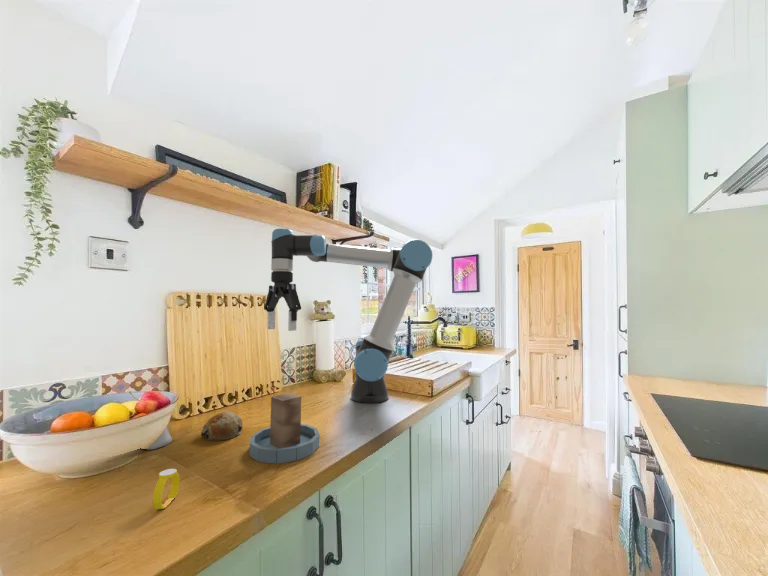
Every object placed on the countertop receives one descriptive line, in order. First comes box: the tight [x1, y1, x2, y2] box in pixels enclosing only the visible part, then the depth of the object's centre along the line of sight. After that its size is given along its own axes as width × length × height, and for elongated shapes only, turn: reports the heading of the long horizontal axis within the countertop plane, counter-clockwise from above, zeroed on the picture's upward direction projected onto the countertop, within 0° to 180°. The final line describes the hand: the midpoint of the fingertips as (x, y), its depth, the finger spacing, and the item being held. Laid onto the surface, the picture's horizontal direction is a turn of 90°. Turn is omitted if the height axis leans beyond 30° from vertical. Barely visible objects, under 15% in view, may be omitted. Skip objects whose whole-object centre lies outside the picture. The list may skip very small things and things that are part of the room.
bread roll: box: [201, 411, 243, 442], centre depth 92 cm, size 10×10×8 cm
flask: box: [147, 427, 173, 450], centre depth 85 cm, size 7×7×10 cm
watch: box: [152, 468, 181, 510], centre depth 60 cm, size 6×3×6 cm, turn 4°
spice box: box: [269, 392, 302, 448], centre depth 84 cm, size 6×6×12 cm
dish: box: [249, 423, 320, 464], centre depth 84 cm, size 17×17×3 cm
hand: (281, 329), depth 116 cm, fingers open, 13 cm apart
